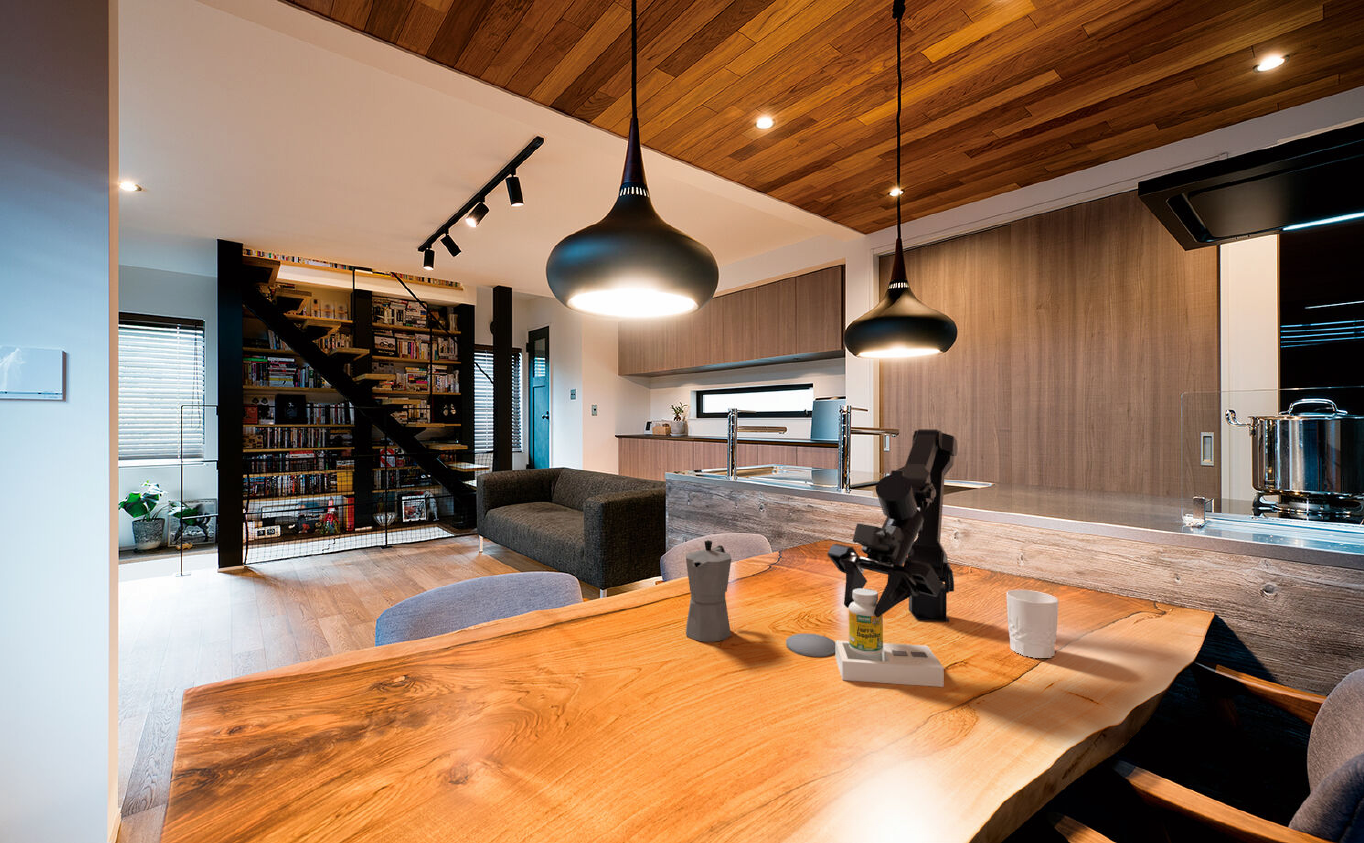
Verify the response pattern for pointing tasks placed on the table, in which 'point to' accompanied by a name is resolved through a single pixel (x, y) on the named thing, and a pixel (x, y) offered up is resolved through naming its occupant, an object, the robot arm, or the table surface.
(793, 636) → the mat
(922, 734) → the table surface
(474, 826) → the table surface
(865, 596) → the supplement bottle
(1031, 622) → the white cup
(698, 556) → the coffeepot
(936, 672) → the desk organizer
